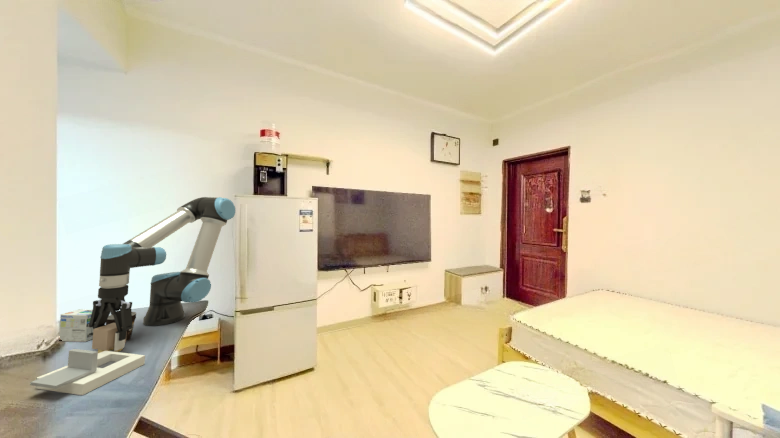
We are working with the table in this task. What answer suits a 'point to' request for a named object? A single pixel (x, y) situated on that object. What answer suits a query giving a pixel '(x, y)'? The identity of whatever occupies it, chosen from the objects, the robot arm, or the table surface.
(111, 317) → the coffee mug
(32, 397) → the table surface
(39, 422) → the table surface
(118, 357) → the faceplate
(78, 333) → the light bulb box
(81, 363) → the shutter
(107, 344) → the plug
